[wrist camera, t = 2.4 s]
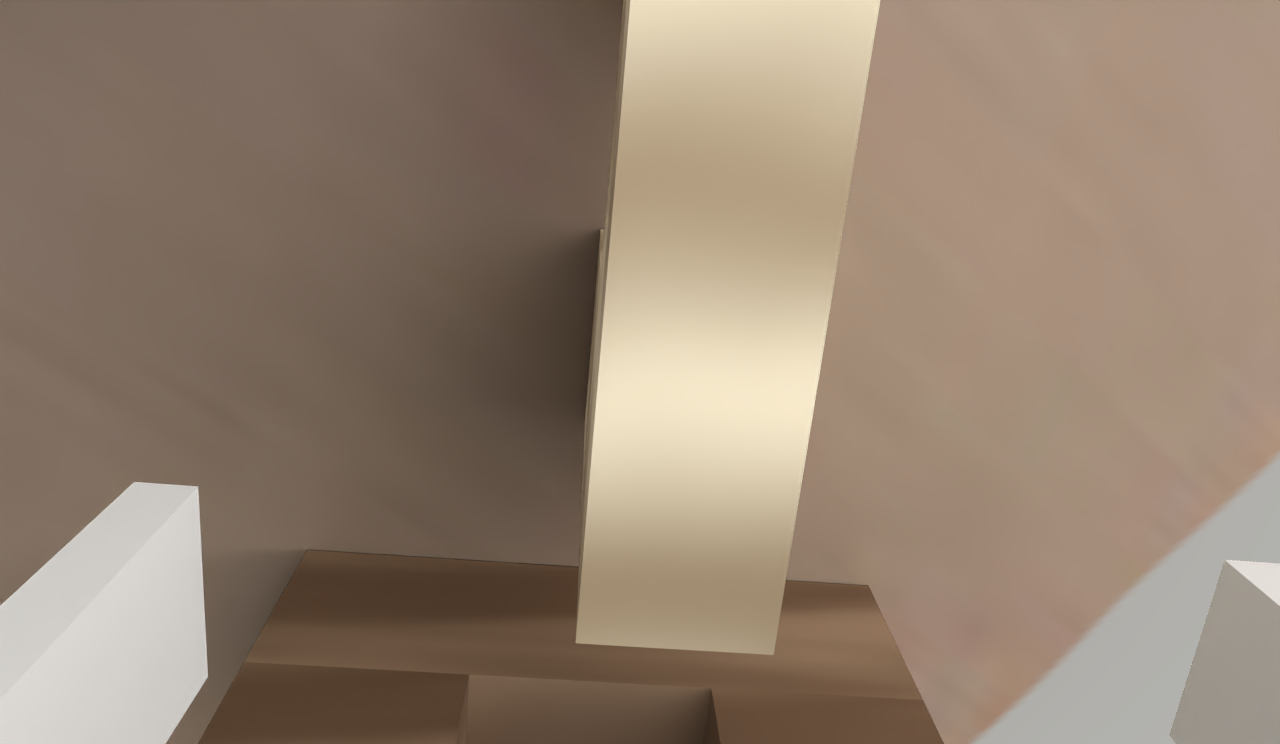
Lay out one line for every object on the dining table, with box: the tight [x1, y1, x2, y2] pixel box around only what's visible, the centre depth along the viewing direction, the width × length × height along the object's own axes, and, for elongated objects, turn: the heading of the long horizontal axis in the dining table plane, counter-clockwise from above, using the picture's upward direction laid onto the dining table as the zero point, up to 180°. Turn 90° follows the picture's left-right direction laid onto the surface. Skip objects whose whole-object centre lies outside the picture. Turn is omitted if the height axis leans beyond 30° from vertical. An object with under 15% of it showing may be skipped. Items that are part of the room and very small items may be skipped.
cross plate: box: [576, 0, 880, 655], centre depth 17 cm, size 14×3×9 cm, turn 175°
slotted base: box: [198, 550, 944, 744], centre depth 21 cm, size 3×14×9 cm, turn 85°
